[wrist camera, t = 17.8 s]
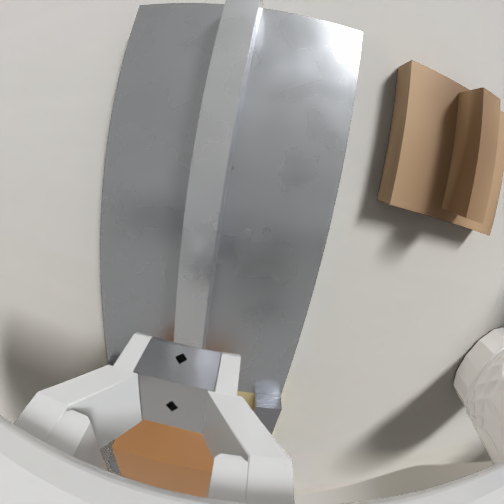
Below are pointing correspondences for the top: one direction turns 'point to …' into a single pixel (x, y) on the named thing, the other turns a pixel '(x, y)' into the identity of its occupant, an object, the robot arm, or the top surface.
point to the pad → (444, 149)
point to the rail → (224, 182)
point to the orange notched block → (165, 457)
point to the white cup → (485, 391)
